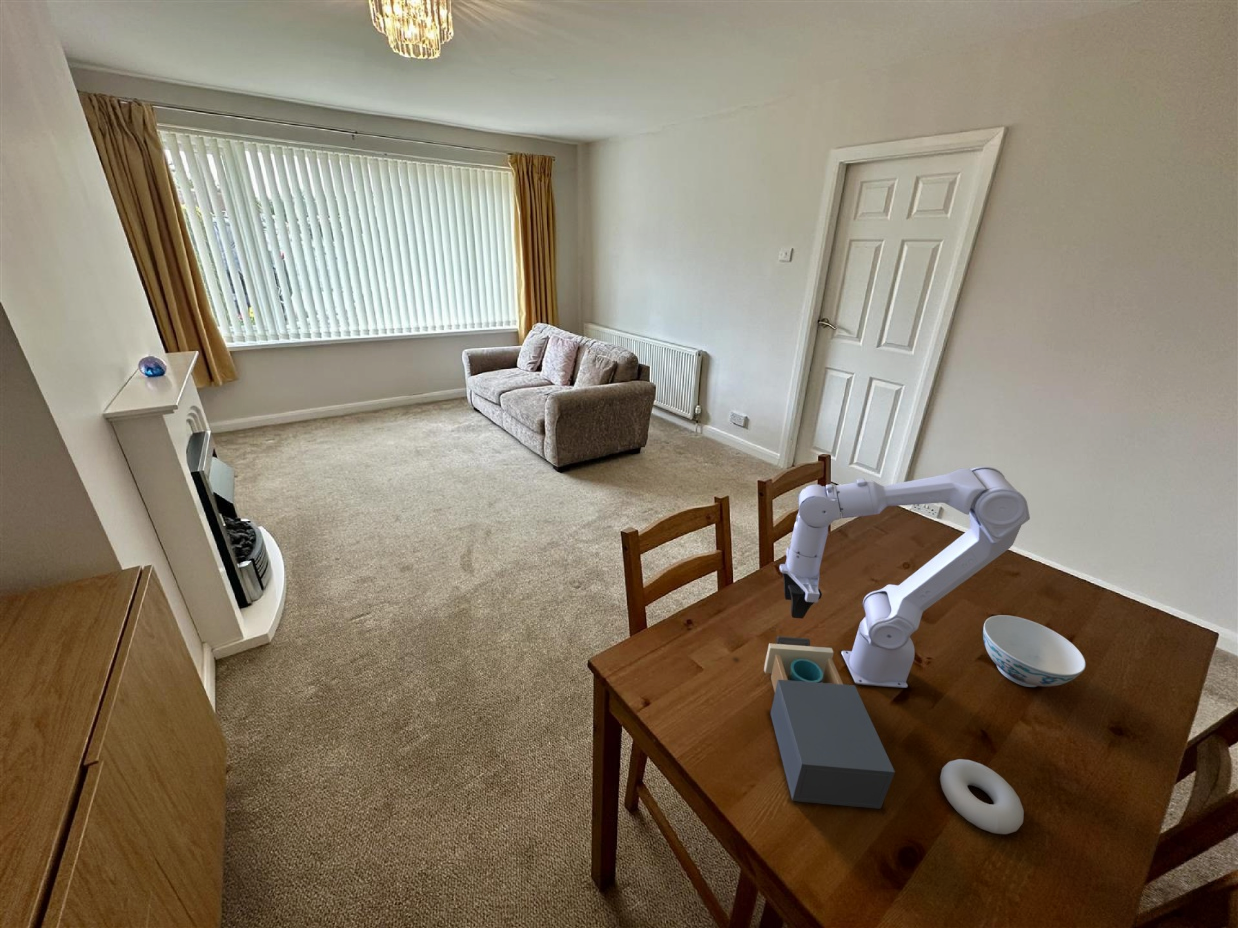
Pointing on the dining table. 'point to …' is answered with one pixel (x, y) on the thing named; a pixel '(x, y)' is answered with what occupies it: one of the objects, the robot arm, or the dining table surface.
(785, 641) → the drawer
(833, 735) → the cabinet
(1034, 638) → the chinaware
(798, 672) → the cup
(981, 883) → the dining table surface
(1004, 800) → the donut
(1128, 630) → the dining table surface
